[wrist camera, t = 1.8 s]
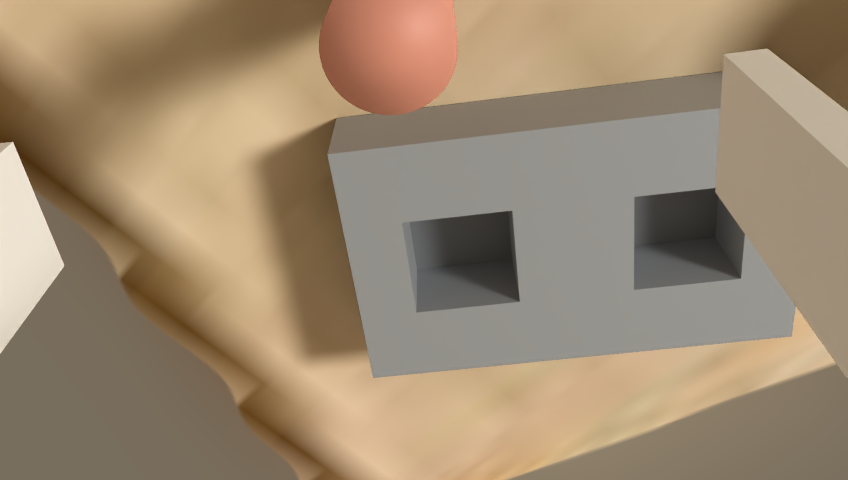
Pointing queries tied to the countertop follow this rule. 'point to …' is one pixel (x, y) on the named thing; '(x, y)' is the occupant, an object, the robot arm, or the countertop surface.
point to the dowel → (389, 52)
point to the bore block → (547, 229)
